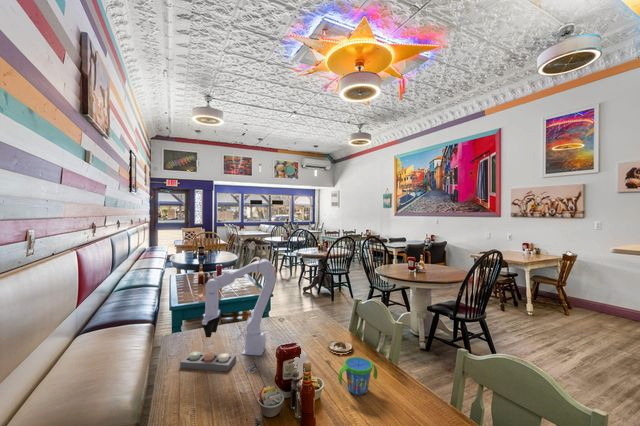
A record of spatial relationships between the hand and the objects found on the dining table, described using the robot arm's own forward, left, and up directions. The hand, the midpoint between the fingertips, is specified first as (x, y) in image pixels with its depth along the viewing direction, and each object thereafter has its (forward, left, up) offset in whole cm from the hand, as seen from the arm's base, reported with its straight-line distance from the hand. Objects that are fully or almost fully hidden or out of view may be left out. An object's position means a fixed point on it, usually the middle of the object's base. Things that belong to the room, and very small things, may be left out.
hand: (211, 334), depth 135 cm
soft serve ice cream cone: (-43, +19, -10) cm, 48 cm away
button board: (-3, +8, -9) cm, 13 cm away
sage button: (+4, +8, -8) cm, 12 cm away
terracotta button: (-3, +8, -8) cm, 11 cm away
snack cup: (-67, +19, -10) cm, 70 cm away
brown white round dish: (-60, -14, -10) cm, 62 cm away
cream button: (-10, +8, -8) cm, 15 cm away
